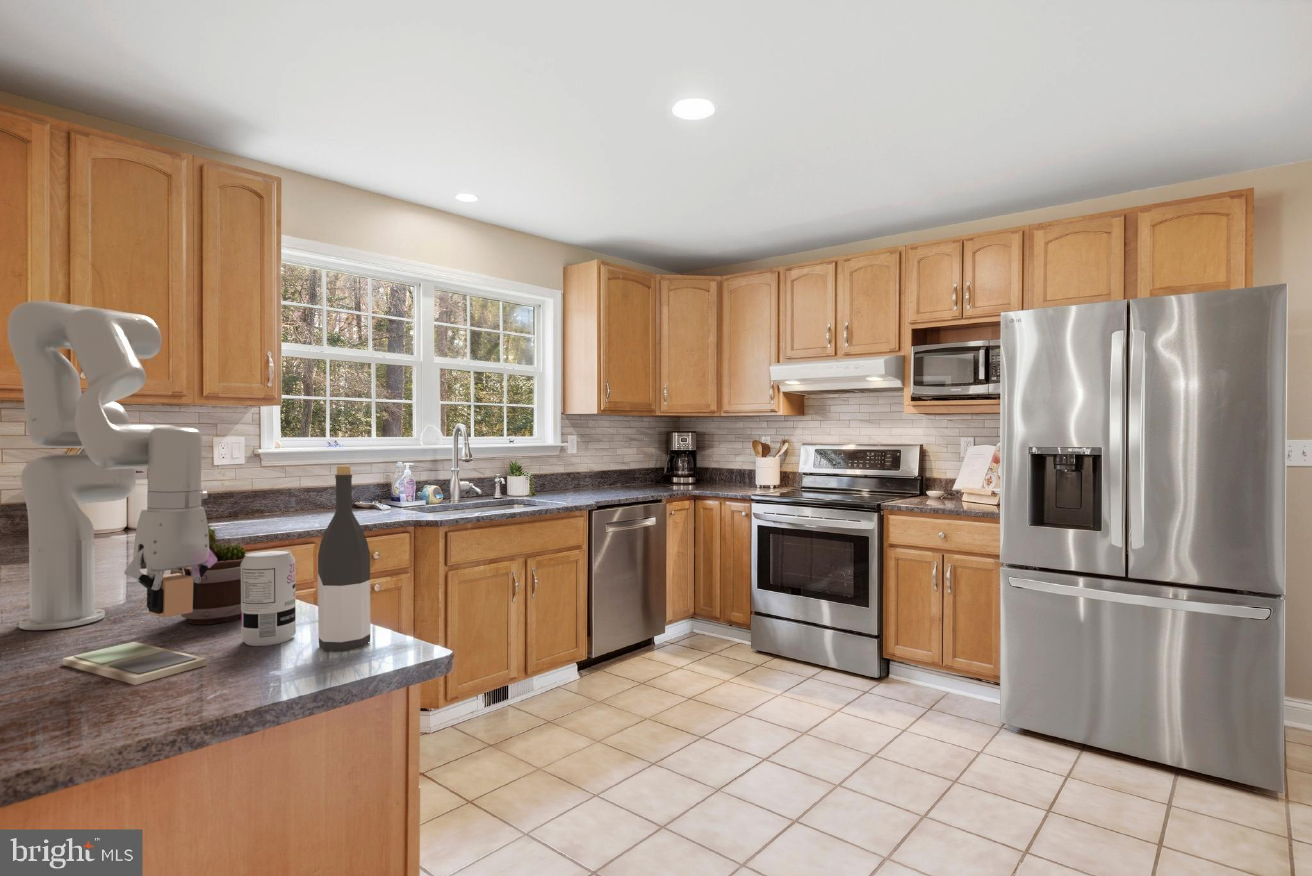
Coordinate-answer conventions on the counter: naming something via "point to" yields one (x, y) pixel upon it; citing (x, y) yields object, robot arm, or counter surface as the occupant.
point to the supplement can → (268, 597)
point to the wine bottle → (343, 576)
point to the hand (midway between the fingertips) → (172, 607)
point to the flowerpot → (218, 585)
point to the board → (134, 662)
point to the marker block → (176, 595)
